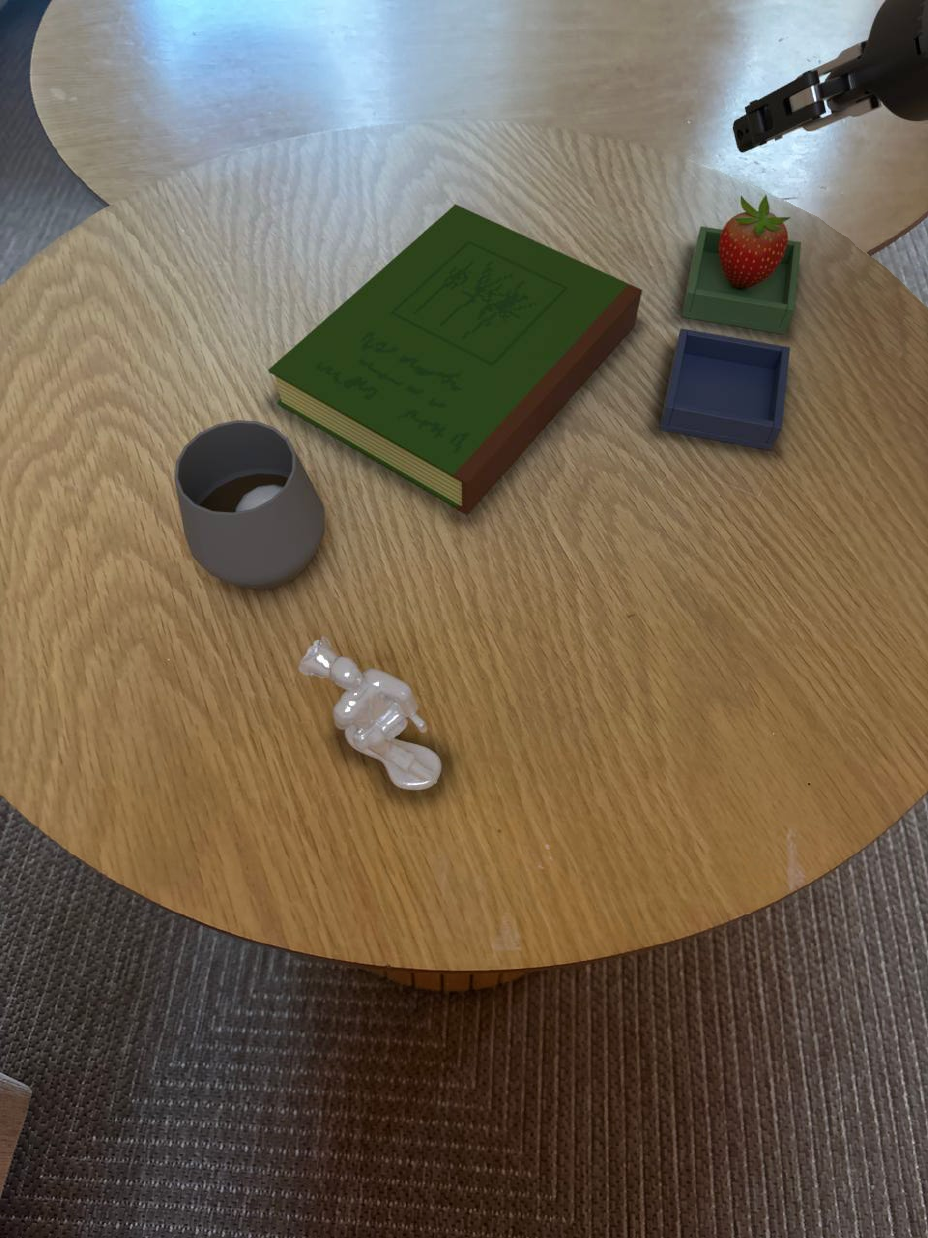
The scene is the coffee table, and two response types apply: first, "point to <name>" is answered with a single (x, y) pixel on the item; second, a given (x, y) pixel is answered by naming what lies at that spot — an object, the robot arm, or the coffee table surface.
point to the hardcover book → (457, 354)
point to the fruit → (752, 245)
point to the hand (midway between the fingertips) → (786, 119)
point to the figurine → (376, 716)
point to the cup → (248, 505)
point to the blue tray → (726, 389)
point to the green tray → (740, 289)
